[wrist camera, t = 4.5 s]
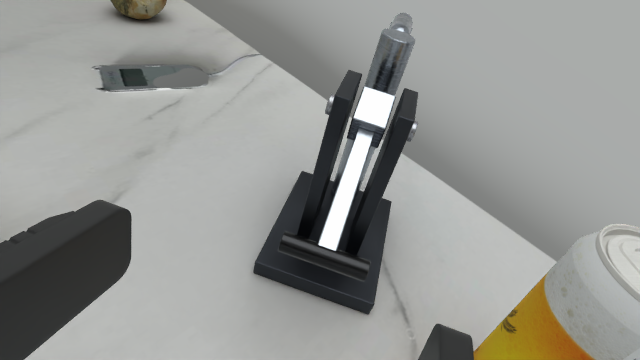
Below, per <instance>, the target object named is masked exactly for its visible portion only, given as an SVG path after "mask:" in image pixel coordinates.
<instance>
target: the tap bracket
mask: <svg viewBox="0 0 640 360" xmlns="http://www.w3.org/2000/svg"><path fill="white" fill-rule="evenodd" d="M361 77H362V74H360V73H357V72H354V71H351V70H348V72H347V74H346V76H345V77H344V79H343V81H342V83H341V85H340V87H339V88H338V90H337V92H336V94H331V95H330V97H329V100H328V103H327V106H326V110H325V114H328V115H329V118H328V122H327V125H326V129H325V133H324V137H323V140H322V144H321V148H320V151H319V155H318V159H317V162H316V166H315V170H314V173H313V174H310V173H307V172H304V171H302V172H301V174H300V176H299V178H298V180H297V182H296V184H295V185H294V187H293V189H292V191H291V193H290V195H289V197H288V199H287V201H286V203H285V205H284V207H283V209H282V211H281V213H280V215H279V217H278V219H277V221H276V222H275V224H274V226H273V228H272V230H271V232H270V234H269V236H268V238H267V240H266V242H265V244H264V246H263V248H262V250H261V252H260V254H259V256H258V258H257V259H256V261H255V266H254V271H253V272H254V273H256V274H258V275H261V276H264V277H267V278H270V279H272V280H275V281H278V282H281V283H283V284H286V285H289V286H292V287H294V288H297V289H300V290H303V291H305V292H308V293H311V294H314V295H316V296H319V297H322V298H325V299H328V300H330V301H333V302H336V303H339V304H341V305H344V306H347V307H350V308H352V309H355V310H358V311H361V312H363V313H366V314H369V313H370V311H371V309H372V307H373V305H374V301H375V295H376V289H377V284H378V278H379V272H380V266H381V260H382V254H383V249H384V243H385V237H386V231H387V225H388V219H389V214H390V208H391V201H389V200H386V199H383V198H382V196H383V194H384V191H385V189H386V187H387V184H388V182H389V180H390V177H391V175H392V173H393V170H394V168H395V166H396V164H397V161H398V159H399V157H400V154H401V152H402V149H403V147H404V145H405V143H406V141H411V140H412V139H413V136H414V134H415V131H416V128H417V125H418V122H417V121H415V114H416V106H417V98H418V92H415V91H412V90H409V89H406V88H405V89H404V90H403V93H402V96H401V98H400V101H399V103H398V106H397V108H396V111H395V114H394V116H393V119H392V121H391V124H390V126H389V129H388V132H387V134H386V137H385V139H384V142H383V144H382V147H381V150H380V152H379V155H378V157H377V160H376V162H375V165H374V168H373V170H372V173H371V175H370V178H369V180H368V183H367V186H366V188H365V191H364V192H362V191H359V192H358V195H357V198H356V200H355V201H354V202H353V203H352V205H351V208H350V211H349V214H348V217H347V220H346V223H345V227H344V230H343V233H342V236H341V239H340V242H339V245H338V248H337V249H339V250H342V251H344V252H347V253H350V254H353V255H356V256H359V257H361V258H364V259H367V260H370V261H371V264H370V268H369V272H368V275H367V277H366V279H365V281H364V282H363V281H360V280H357V279H354V278H351V277H349V276H346V275H343V274H340V273H337V272H335V271H332V270H329V269H326V268H323V267H321V266H318V265H315V264H312V263H309V262H307V261H304V260H301V259H298V258H295V257H293V256H290V255H287V254H284V253H281V252H279V251H278V247H279V244H280V241H281V238H282V236H283V234H284V232H285V231H288V232H291V233H293V234H296V235H299V236H302V237H305V238H308V239H310V240H313V241H316V242H319V239H320V236H321V233H322V230H323V227H324V224H325V222H326V219H327V216H328V213H329V210H330V207H331V204H332V202H333V199H334V198H333V197H332V195H331V190H332V186H333V183H334V182H333V181H330V177H331V174H332V171H333V168H334V165H335V161H336V158H337V155H338V152H339V148H340V145H341V142H342V139H343V135H344V132H345V129H346V126H347V122H348V119H349V116H350V113H351V109H352V106H353V103H354V100H355V96H356V93H357V90H358V87H359V83H360V80H361Z"/></svg>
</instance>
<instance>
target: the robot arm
mask: <svg viewBox="0 0 640 360" xmlns="http://www.w3.org/2000/svg"><path fill="white" fill-rule="evenodd" d="M130 260H131V213H130V211H129V210H127V209H125V208H122V207H119V206H117V205H114V204H111V203H109V202H106V201H103V200H97V201H94V202H92V203H90V204H88V205H87V206H85V207H83V208H81V209H79V210H77V211H76V212H74V211H71V212H68V213H64V214H60V215H57V216H53V217H50V218H47V219H45V220H43V221H41V222H40V223H38V224H36V225H34V226H32V227H30V228H28V230H27V231H26V232H25V231H23V232H21V233H19V234H17V235H15V236H13V237H11V238H10V240H9V241H6V240H5V241H4V242H2V243H0V360H24V359H25V358H26V357H27V356H29V355H30V354H31V353H32V352H33V351H35V350H36V349H37V348H38V347H39V346H41V345H42V344H43V343H44V342H45V341H47V340H48V339H49V338H50V337H51V336H53V335H54V334H55V333H56V332H57V331H59V330H60V329H61V328H62V327H63V326H65V325H66V324H67V323H68V322H69V321H71V320H72V319H73V318H74V317H75V316H76V315H78V314H79V313H80V312H81V311H82V310H84V309H85V308H86V307H87V306H88V305H90V304H91V303H92V302H93V301H94V300H96V299H97V298H98V297H99V296H100V295H102V294H103V293H104V292H105V291H106V290H108V289H109V288H110V287H111V286H112V285H114V284H115V283H116V282H117V281H118V280H119V279H120V278H121V277H122V276H123V275H124V273H125V272H126V270H127V268H128V266H129V264H130ZM418 360H474V354H473V343H472V338H471V336H470V335H468V334H465V333H462V332H459V331H457V330H454V329H451V328H449V327H446V326H443V325H441V324H436V325H435V326H434V328H433V330H432V332H431V334H430V336H429V338H428V340H427V342H426V345H425V347H424V349H423V351H422V353H421V355H420V357H419V359H418Z"/></svg>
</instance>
